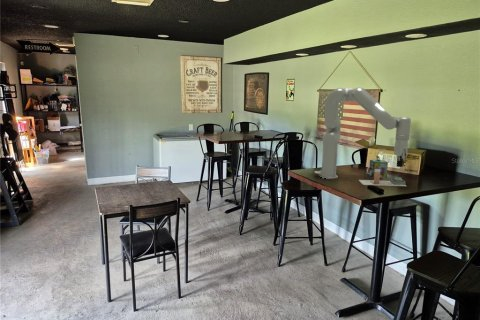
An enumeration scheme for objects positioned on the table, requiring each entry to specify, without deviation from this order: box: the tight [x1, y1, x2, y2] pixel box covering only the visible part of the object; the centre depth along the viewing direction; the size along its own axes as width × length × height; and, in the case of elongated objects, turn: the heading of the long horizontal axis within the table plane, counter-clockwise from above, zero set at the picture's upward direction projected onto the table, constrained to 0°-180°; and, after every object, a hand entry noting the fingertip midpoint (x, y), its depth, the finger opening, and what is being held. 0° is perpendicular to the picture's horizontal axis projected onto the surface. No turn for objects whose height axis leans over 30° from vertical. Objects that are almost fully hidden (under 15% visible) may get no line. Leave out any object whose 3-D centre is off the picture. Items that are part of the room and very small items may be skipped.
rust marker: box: [373, 169, 381, 184], centre depth 205 cm, size 3×3×9 cm
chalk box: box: [368, 155, 389, 179], centre depth 224 cm, size 9×9×15 cm
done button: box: [393, 176, 403, 182], centre depth 206 cm, size 4×4×2 cm
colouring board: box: [358, 178, 407, 187], centre depth 207 cm, size 26×12×3 cm, turn 84°
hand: (399, 166), depth 204 cm, fingers closed
